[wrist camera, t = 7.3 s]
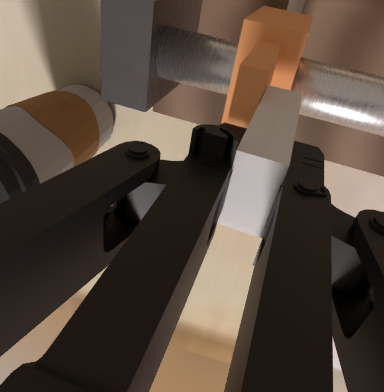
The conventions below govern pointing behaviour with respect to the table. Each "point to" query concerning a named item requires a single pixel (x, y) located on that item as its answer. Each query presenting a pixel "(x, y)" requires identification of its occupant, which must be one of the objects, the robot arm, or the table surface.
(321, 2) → the base board
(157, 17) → the pipe
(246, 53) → the orange slotted block
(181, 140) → the table surface
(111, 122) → the coffee cup
